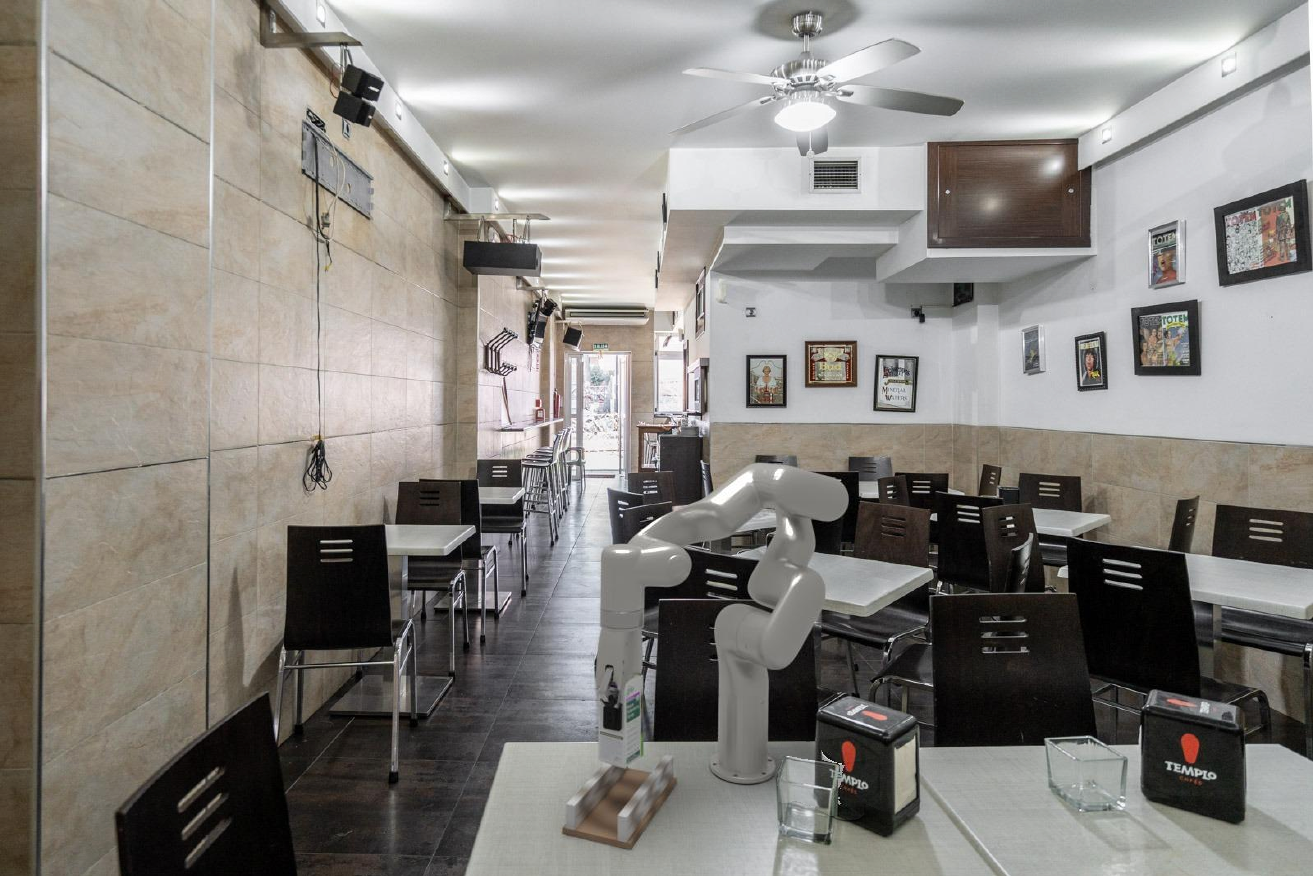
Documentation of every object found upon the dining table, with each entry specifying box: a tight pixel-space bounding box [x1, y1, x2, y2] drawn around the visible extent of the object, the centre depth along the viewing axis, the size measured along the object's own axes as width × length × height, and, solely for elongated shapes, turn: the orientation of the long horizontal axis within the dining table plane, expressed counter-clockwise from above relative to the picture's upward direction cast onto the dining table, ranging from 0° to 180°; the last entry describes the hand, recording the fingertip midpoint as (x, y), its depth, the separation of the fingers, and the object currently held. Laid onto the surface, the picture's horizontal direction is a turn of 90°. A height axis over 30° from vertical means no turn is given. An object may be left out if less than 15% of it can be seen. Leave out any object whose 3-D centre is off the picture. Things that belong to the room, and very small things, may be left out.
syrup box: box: [597, 673, 644, 769], centre depth 123 cm, size 6×6×14 cm
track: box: [562, 754, 678, 850], centre depth 125 cm, size 22×12×5 cm, turn 159°
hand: (620, 720), depth 123 cm, fingers closed on syrup box, 6 cm apart
